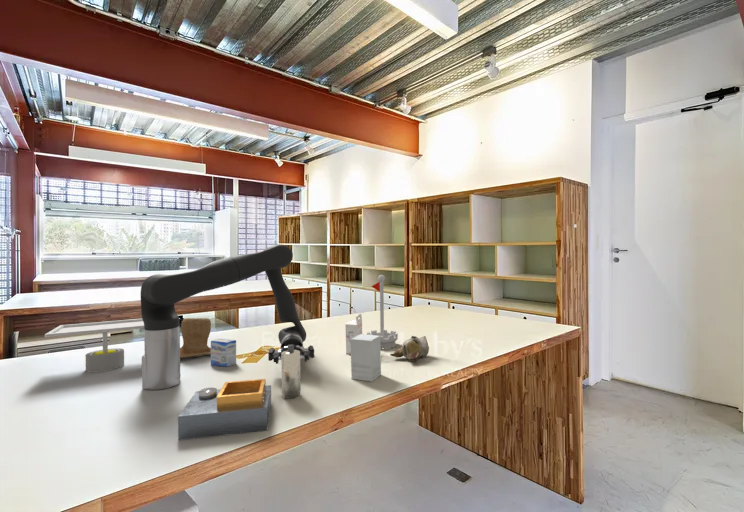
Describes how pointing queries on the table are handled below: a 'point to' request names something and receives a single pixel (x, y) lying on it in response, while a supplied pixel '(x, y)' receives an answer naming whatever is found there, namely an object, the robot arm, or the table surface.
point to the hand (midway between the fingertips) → (291, 359)
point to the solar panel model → (105, 357)
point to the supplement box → (365, 357)
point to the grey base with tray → (226, 410)
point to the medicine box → (223, 352)
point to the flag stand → (385, 338)
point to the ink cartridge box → (353, 331)
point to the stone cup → (195, 337)
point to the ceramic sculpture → (413, 348)
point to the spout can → (291, 373)
